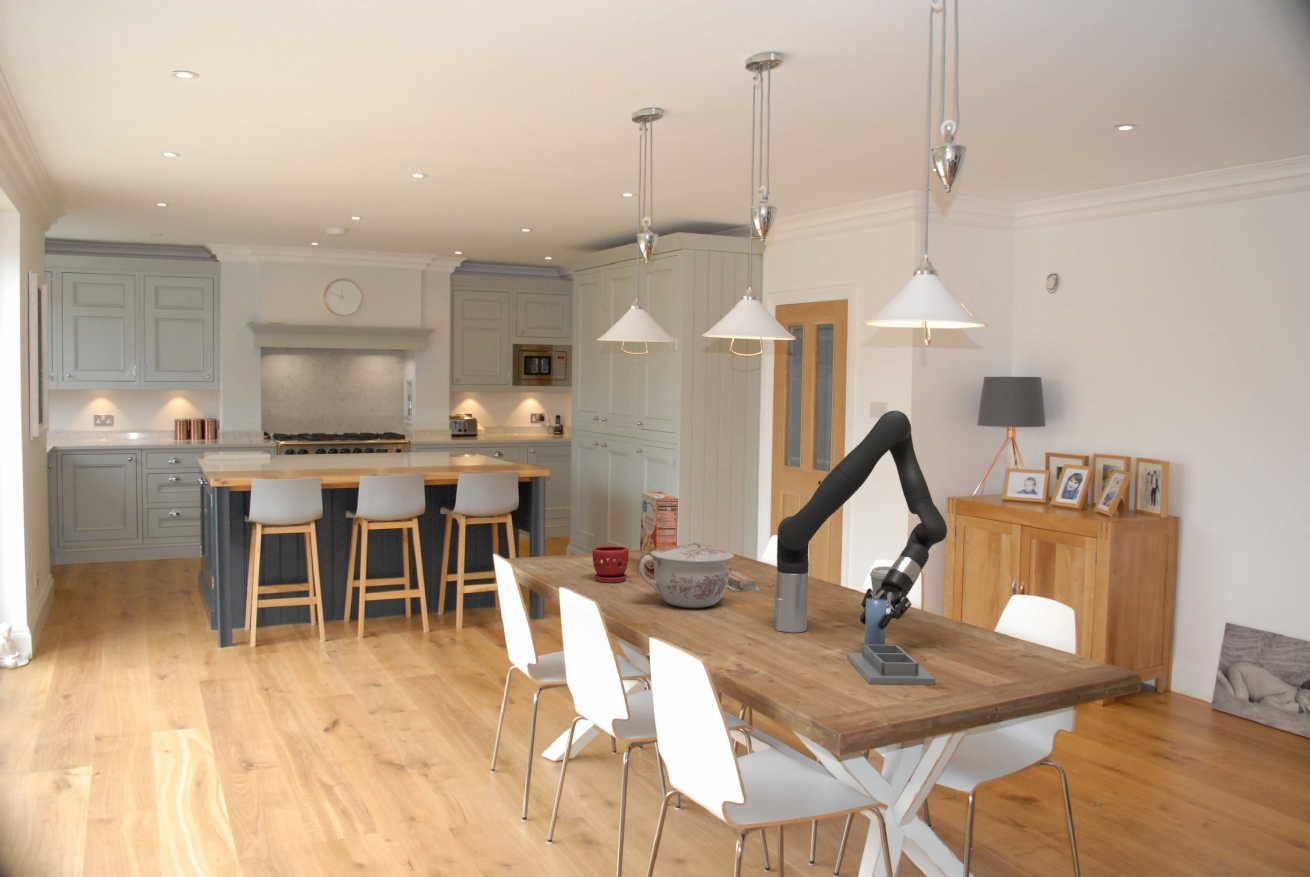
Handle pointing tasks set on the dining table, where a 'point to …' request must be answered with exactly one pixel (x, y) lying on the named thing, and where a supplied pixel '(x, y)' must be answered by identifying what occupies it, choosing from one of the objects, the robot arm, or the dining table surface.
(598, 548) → the plant pot
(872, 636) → the pale blue cylinder
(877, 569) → the disposable coffee cup
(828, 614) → the dining table surface
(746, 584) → the packaged product
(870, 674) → the tray
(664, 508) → the orange cereal box
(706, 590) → the chamber pot
